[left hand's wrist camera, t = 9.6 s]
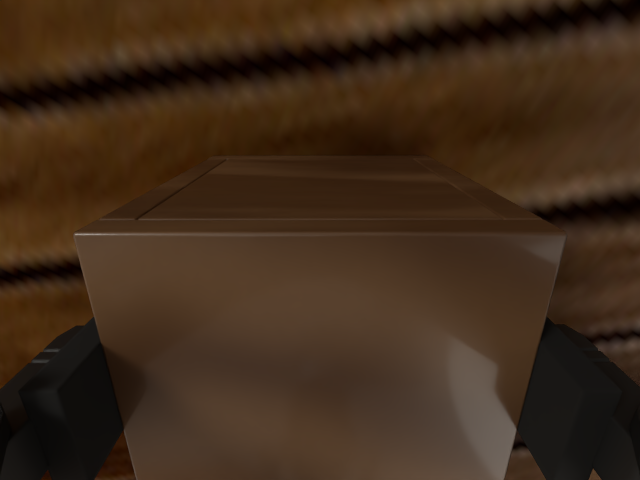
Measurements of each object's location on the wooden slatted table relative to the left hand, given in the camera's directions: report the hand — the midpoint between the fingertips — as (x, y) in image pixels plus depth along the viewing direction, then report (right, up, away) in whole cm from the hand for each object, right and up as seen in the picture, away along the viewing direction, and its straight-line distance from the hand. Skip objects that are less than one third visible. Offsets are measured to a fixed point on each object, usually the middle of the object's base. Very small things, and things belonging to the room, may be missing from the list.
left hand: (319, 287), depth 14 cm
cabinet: (0, -4, +7) cm, 8 cm away
